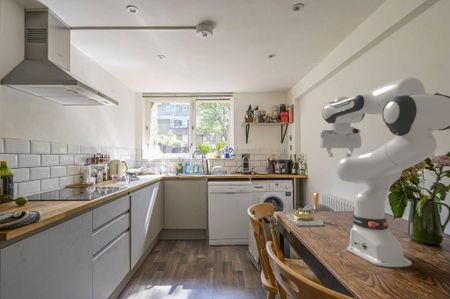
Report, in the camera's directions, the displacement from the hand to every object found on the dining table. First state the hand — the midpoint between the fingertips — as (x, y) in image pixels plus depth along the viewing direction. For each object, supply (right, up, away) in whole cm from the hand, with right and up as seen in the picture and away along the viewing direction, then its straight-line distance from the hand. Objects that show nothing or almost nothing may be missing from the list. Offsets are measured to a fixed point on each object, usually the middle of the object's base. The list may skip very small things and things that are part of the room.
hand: (339, 156), depth 124 cm
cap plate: (-12, -39, +20) cm, 46 cm away
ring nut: (-10, -37, +20) cm, 43 cm away
